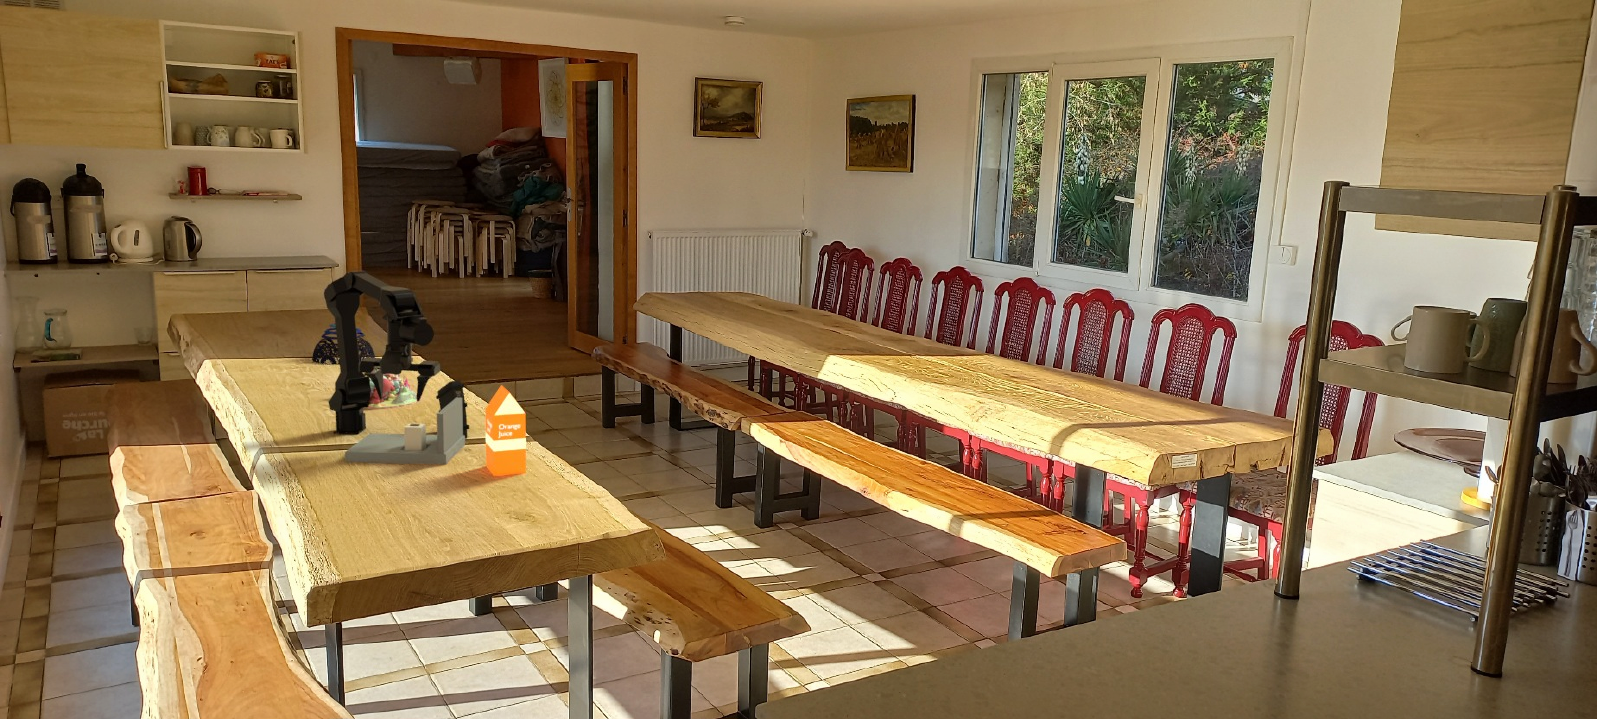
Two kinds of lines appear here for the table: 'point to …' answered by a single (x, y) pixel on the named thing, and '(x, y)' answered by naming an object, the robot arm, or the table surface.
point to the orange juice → (505, 435)
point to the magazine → (449, 394)
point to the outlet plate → (436, 452)
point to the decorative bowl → (328, 345)
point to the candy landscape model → (392, 393)
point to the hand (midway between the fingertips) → (399, 400)
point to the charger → (415, 436)
